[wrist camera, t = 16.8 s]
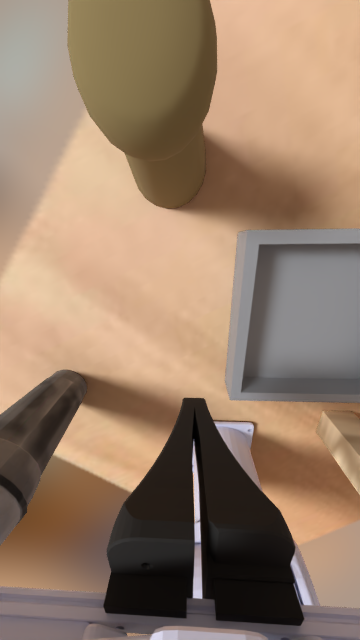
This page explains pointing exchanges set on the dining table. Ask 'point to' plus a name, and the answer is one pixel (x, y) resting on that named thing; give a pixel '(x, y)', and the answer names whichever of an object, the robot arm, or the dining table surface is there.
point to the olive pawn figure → (148, 86)
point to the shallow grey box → (295, 316)
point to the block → (342, 441)
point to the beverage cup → (33, 440)
